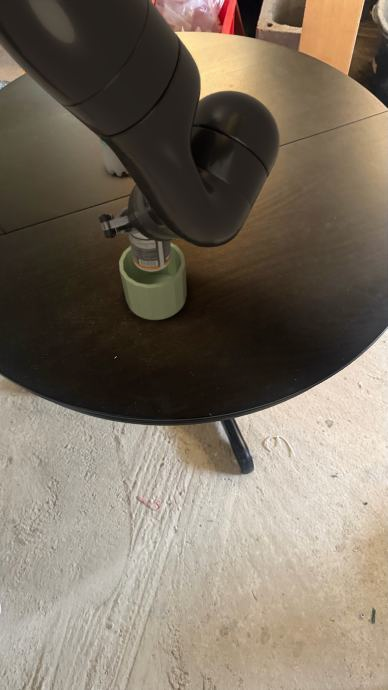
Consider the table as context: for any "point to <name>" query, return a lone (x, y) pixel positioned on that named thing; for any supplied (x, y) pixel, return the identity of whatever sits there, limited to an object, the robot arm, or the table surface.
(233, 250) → the table surface
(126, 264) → the green cup
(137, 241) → the pill bottle
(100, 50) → the robot arm
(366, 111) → the table surface
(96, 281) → the table surface
